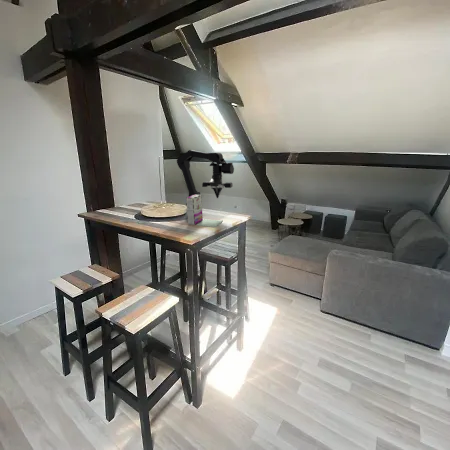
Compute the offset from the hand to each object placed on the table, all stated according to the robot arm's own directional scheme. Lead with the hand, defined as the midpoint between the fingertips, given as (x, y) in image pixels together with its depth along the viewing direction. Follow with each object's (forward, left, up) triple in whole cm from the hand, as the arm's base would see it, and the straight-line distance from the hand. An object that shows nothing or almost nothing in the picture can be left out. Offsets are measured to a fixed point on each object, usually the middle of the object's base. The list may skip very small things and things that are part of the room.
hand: (217, 198), depth 156 cm
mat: (0, -15, -13) cm, 20 cm away
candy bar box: (-10, -15, -13) cm, 22 cm away
